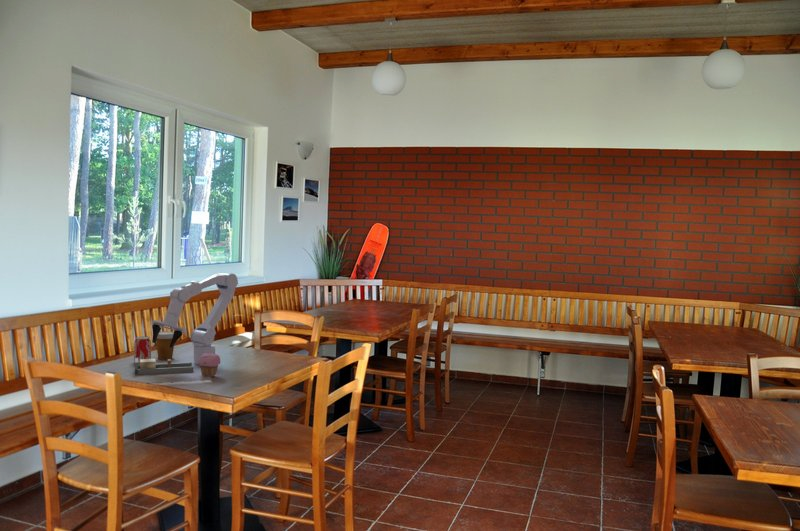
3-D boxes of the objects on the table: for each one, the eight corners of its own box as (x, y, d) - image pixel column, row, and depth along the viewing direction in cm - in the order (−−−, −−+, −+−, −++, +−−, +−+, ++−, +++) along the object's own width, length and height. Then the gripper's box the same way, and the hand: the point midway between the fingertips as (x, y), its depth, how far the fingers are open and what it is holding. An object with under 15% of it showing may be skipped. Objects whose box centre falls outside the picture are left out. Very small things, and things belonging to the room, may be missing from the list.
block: (170, 368, 284) (170, 358, 284) (170, 371, 279) (171, 360, 278) (140, 369, 280) (140, 359, 279) (140, 372, 274) (140, 362, 274)
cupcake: (202, 373, 281) (202, 350, 281) (222, 374, 281) (223, 351, 280) (195, 378, 272) (195, 354, 272) (216, 379, 272) (216, 355, 272)
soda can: (145, 366, 292) (145, 339, 291) (130, 365, 293) (130, 338, 292) (154, 363, 299) (154, 336, 298) (139, 361, 300) (140, 335, 299)
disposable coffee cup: (180, 358, 311) (180, 332, 311) (163, 361, 303) (163, 335, 303) (167, 355, 316) (167, 330, 316) (150, 358, 308) (150, 332, 308)
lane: (191, 369, 289) (191, 355, 289) (193, 374, 280) (193, 360, 280) (135, 371, 281) (135, 357, 280) (134, 376, 272) (135, 362, 271)
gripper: (154, 308, 281) (142, 339, 278) (186, 317, 281) (175, 348, 278) (158, 311, 288) (148, 341, 285) (190, 320, 288) (180, 350, 284)
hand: (162, 345), depth 282 cm, fingers open, 7 cm apart
